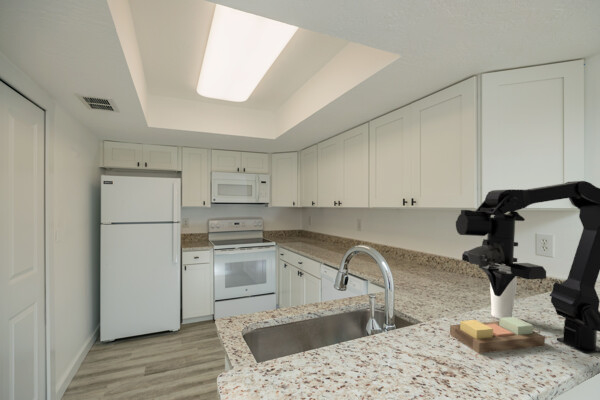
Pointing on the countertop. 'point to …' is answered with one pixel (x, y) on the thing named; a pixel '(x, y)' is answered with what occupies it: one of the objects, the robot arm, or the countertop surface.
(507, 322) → the sage key
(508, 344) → the brown wooden slotted tray
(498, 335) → the terracotta key
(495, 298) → the white tall cylinder
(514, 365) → the countertop surface
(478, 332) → the ochre key
